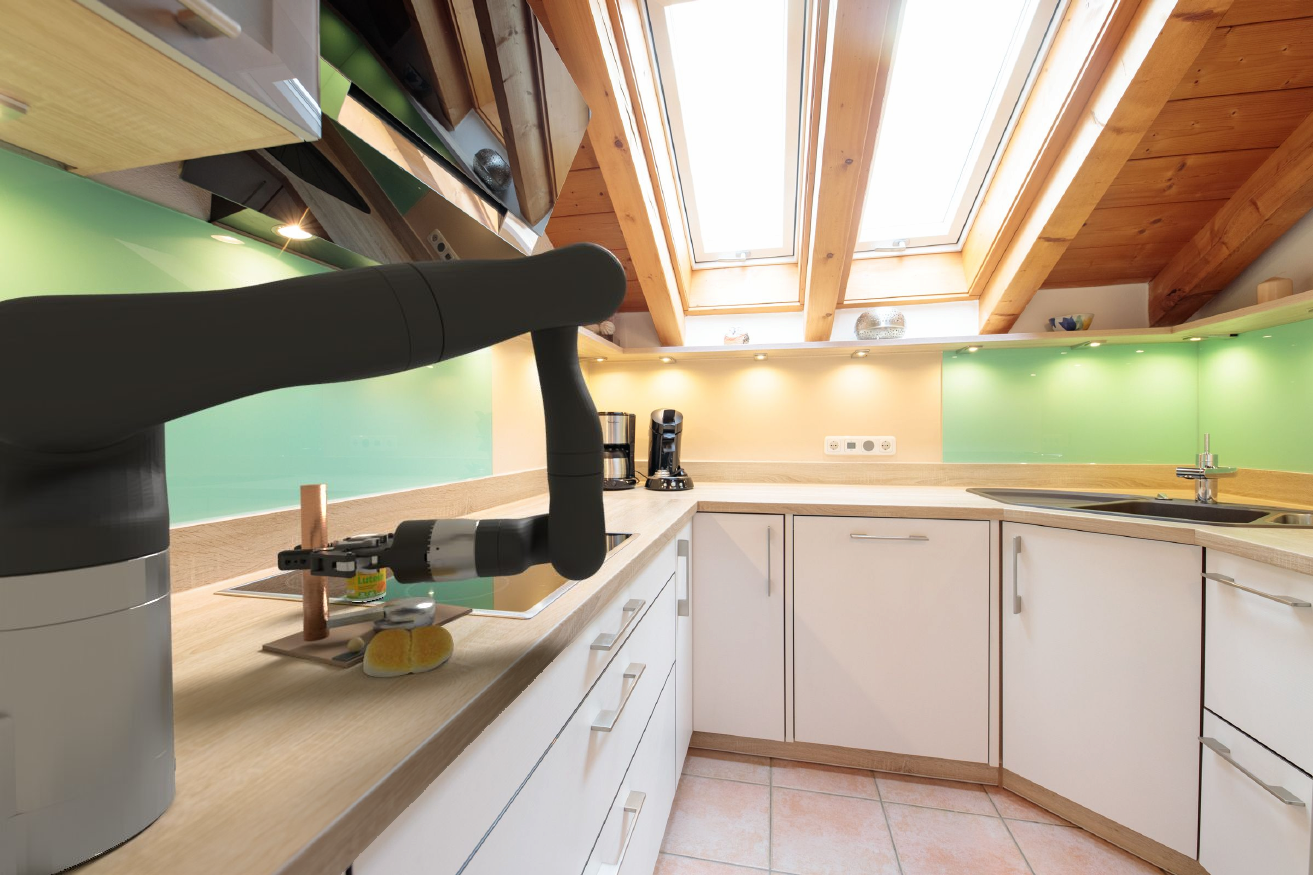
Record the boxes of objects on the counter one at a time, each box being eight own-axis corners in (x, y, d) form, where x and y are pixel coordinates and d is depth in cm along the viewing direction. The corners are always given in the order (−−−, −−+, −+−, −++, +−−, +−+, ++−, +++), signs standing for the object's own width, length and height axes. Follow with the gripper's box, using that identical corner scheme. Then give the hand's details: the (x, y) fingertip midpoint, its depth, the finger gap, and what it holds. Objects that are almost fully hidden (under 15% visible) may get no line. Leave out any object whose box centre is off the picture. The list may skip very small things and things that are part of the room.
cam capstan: (430, 611, 71) (428, 476, 71) (439, 625, 65) (436, 479, 65) (304, 634, 63) (301, 483, 63) (302, 652, 58) (298, 487, 58)
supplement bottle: (356, 606, 77) (354, 540, 77) (340, 599, 80) (339, 537, 80) (392, 596, 81) (391, 534, 81) (376, 591, 85) (375, 531, 85)
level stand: (347, 667, 56) (346, 646, 56) (262, 649, 61) (261, 630, 61) (472, 611, 73) (472, 595, 73) (397, 601, 79) (397, 586, 79)
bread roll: (456, 669, 56) (455, 632, 56) (360, 687, 52) (359, 647, 52) (452, 641, 63) (451, 609, 63) (368, 655, 60) (367, 621, 60)
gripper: (455, 511, 70) (317, 516, 68) (423, 529, 56) (248, 536, 54) (456, 566, 70) (318, 573, 68) (424, 598, 56) (249, 608, 54)
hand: (288, 557), depth 61 cm, fingers closed on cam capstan, 2 cm apart
